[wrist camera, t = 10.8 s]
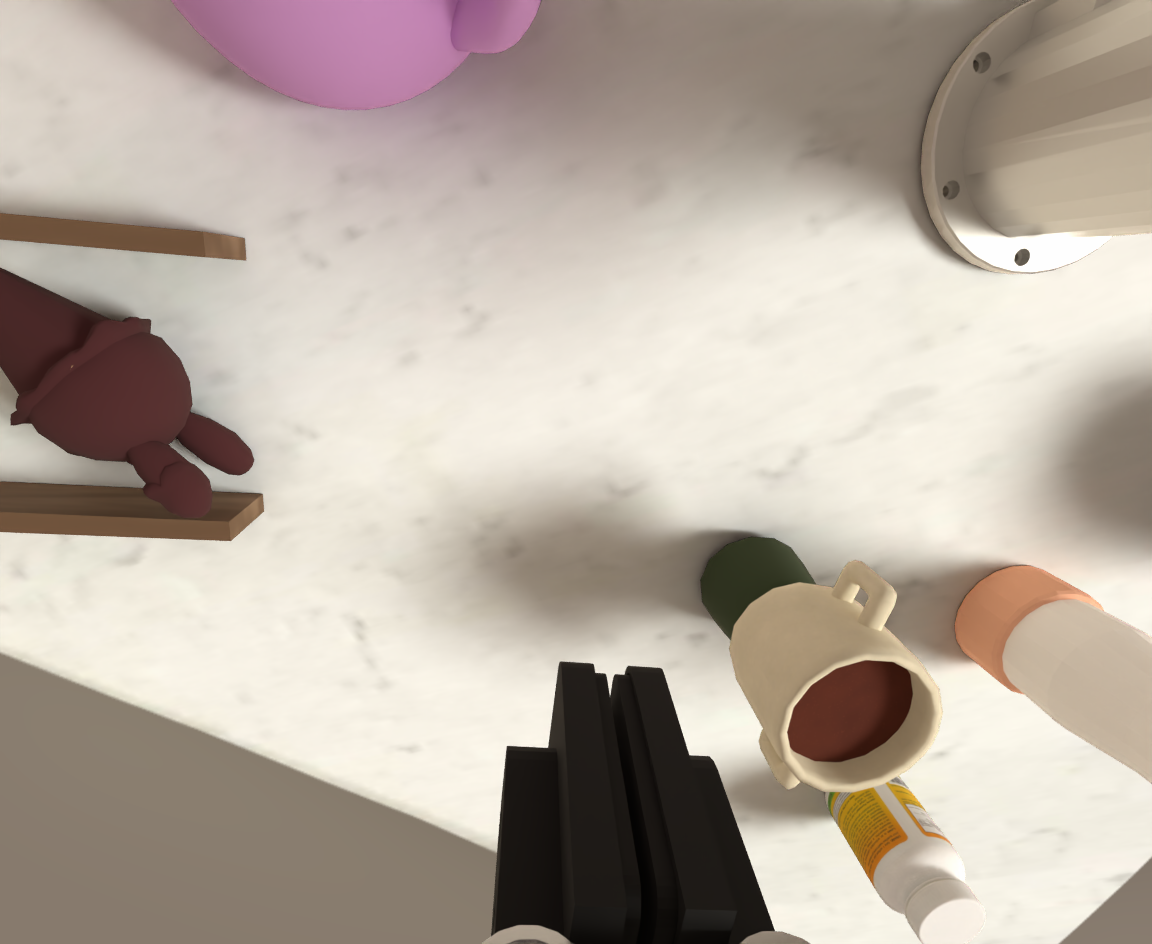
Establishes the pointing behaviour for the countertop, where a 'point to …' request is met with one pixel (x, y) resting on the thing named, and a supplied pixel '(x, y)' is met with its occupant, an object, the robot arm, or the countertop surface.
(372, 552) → the countertop surface
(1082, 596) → the salt shaker
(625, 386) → the countertop surface
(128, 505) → the frame
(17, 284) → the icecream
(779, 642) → the character mug
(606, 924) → the robot arm
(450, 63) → the teapot
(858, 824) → the supplement bottle
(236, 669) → the countertop surface
